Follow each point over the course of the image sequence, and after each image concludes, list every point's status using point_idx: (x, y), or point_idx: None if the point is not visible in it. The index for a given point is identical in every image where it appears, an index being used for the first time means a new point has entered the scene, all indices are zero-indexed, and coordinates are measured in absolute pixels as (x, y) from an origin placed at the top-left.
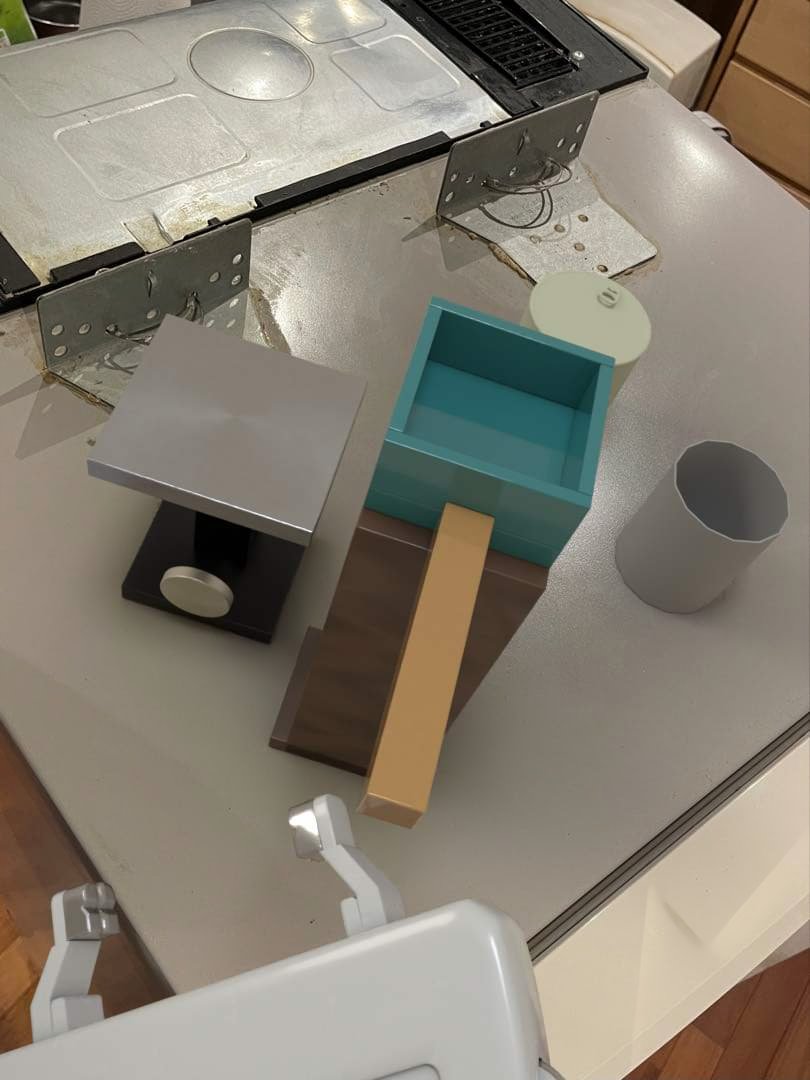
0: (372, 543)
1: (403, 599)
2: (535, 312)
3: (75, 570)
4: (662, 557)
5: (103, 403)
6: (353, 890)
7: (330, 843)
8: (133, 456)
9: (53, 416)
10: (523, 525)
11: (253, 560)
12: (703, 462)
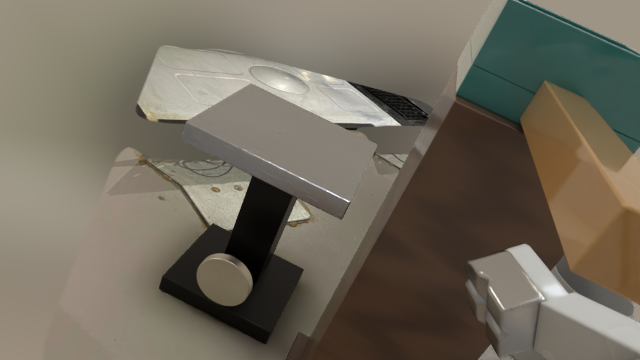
0: (464, 123)
1: (467, 204)
2: None
3: (128, 264)
4: None
5: (173, 181)
6: (636, 349)
7: (558, 290)
8: (220, 129)
9: (139, 179)
10: (613, 109)
11: (261, 281)
12: (561, 274)
